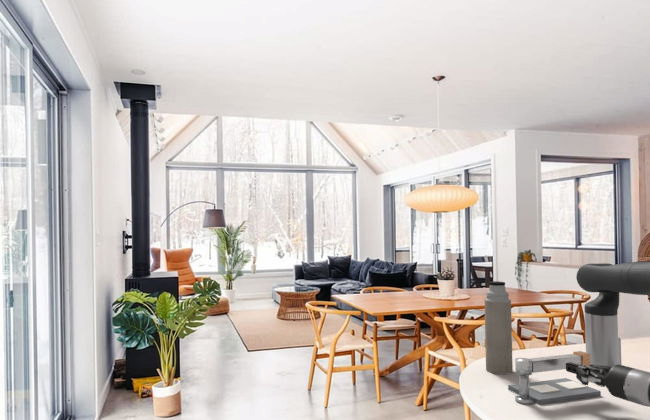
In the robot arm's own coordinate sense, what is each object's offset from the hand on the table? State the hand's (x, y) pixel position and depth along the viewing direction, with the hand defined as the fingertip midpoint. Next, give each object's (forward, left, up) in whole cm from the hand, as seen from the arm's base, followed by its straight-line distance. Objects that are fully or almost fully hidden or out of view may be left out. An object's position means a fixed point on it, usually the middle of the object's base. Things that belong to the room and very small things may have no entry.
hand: (567, 366), depth 126 cm
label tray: (-1, -6, -9) cm, 11 cm away
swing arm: (+2, -3, -2) cm, 4 cm away
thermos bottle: (0, -28, -9) cm, 30 cm away
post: (+11, -3, -9) cm, 15 cm away
